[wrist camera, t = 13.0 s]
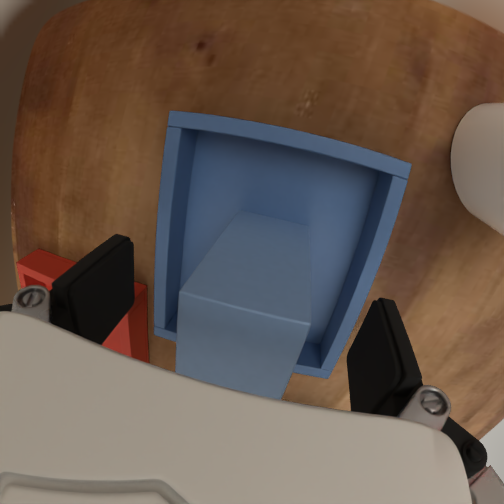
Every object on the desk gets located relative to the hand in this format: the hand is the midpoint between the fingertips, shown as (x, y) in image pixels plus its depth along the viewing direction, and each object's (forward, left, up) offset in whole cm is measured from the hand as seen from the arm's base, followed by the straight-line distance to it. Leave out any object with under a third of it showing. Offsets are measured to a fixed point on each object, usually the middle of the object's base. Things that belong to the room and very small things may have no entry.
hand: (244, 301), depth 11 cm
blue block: (+1, 0, -7) cm, 7 cm away
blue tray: (+1, 0, -7) cm, 7 cm away
